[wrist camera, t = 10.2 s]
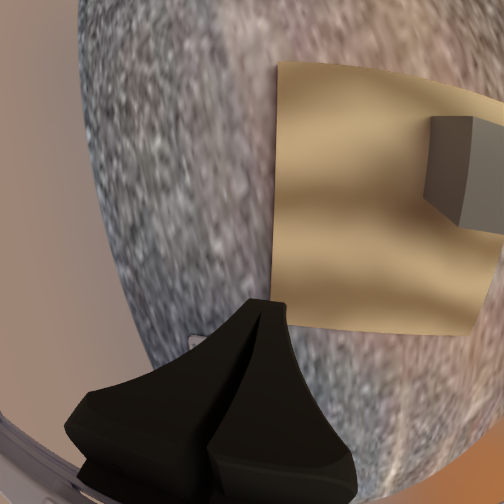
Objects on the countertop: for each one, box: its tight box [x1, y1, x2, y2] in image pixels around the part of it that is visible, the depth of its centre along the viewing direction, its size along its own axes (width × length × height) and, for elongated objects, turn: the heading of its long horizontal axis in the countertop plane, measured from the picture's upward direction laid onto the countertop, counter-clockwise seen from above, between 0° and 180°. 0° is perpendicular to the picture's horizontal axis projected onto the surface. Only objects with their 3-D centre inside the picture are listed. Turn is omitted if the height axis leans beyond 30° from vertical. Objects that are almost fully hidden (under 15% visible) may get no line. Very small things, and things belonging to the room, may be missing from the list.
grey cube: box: [423, 116, 504, 235], centre depth 13 cm, size 5×5×6 cm
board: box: [270, 61, 504, 336], centre depth 18 cm, size 18×17×1 cm
